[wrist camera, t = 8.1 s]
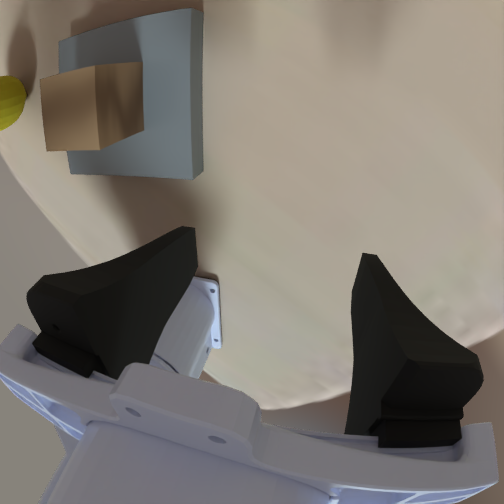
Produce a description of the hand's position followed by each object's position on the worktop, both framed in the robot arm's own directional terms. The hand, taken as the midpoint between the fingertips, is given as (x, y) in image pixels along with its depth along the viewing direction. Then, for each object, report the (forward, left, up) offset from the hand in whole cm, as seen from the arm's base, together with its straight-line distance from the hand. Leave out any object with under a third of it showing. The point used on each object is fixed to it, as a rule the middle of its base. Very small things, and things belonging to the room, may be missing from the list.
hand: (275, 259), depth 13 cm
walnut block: (+6, +13, -8) cm, 16 cm away
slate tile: (+6, +13, -10) cm, 17 cm away
